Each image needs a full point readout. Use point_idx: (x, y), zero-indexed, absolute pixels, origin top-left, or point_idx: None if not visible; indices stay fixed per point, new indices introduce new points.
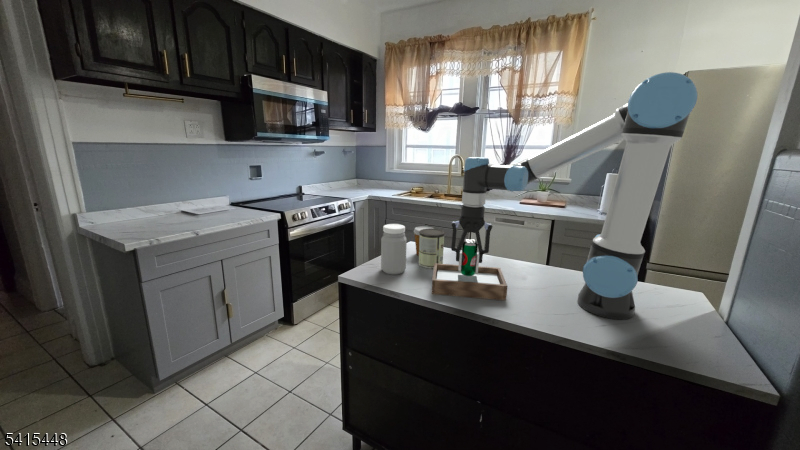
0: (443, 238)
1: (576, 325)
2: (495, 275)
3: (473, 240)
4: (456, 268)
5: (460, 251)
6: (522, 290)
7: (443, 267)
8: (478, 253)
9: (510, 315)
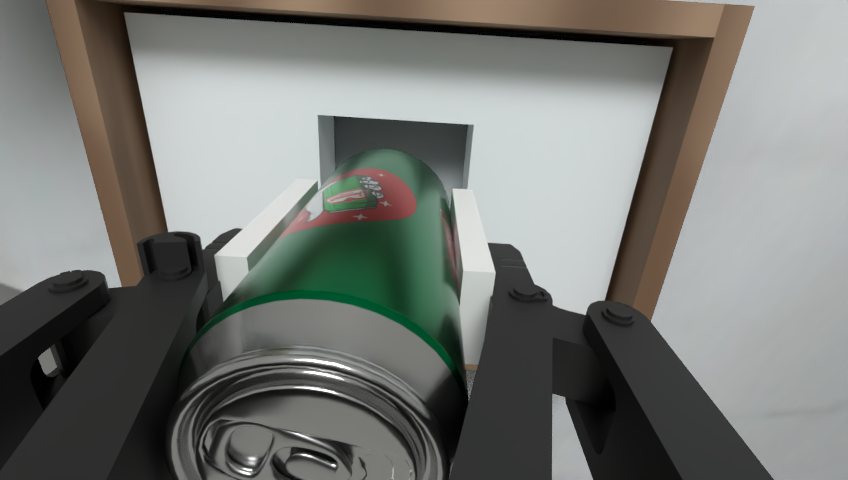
0: None
1: (799, 475)
2: (649, 85)
3: (381, 438)
4: (294, 13)
5: (228, 272)
6: (769, 183)
7: (163, 3)
8: (481, 316)
9: (560, 437)
